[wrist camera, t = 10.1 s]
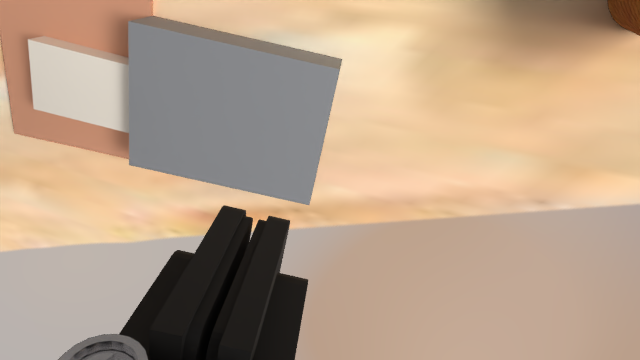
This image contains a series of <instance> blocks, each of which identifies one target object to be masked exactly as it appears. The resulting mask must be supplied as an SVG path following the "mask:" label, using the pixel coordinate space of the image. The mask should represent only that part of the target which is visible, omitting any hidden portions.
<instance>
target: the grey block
mask: <svg viewBox="0 0 640 360" xmlns="http://www.w3.org/2000/svg"><path fill="white" fill-rule="evenodd" d="M128 45H129V165H132V166H136V167H141V168H145V169H150V170H154V171H159V172H163V173H167V174H172V175H176V176H181V177H185V178H190V179H194V180H199V181H203V182H208V183H212V184H217V185H221V186H226V187H230V188H235V189H239V190H244V191H248V192H252V193H257V194H261V195H266V196H270V197H275V198H279V199H284V200H288V201H293V202H297V203H302V204H306V205H309V204H310V199H311V195H312V191H313V186H314V182H315V177H316V173H317V168H318V164H319V160H320V155H321V151H322V146H323V142H324V137H325V133H326V128H327V124H328V120H329V115H330V111H331V106H332V102H333V97H334V93H335V89H336V84H337V80H338V75H339V71H340V66H341V62H342V59H339V58H334V57H330V56H326V55H321V54H317V53H312V52H308V51H304V50H299V49H295V48H291V47H286V46H282V45H278V44H273V43H269V42H264V41H260V40H256V39H251V38H247V37H243V36H238V35H234V34H229V33H225V32H221V31H216V30H212V29H208V28H203V27H199V26H194V25H190V24H186V23H181V22H177V21H173V20H168V19H164V18H159V17H155V16H150V17H145V18H141V19H136V20H131V21H128Z"/></svg>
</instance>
